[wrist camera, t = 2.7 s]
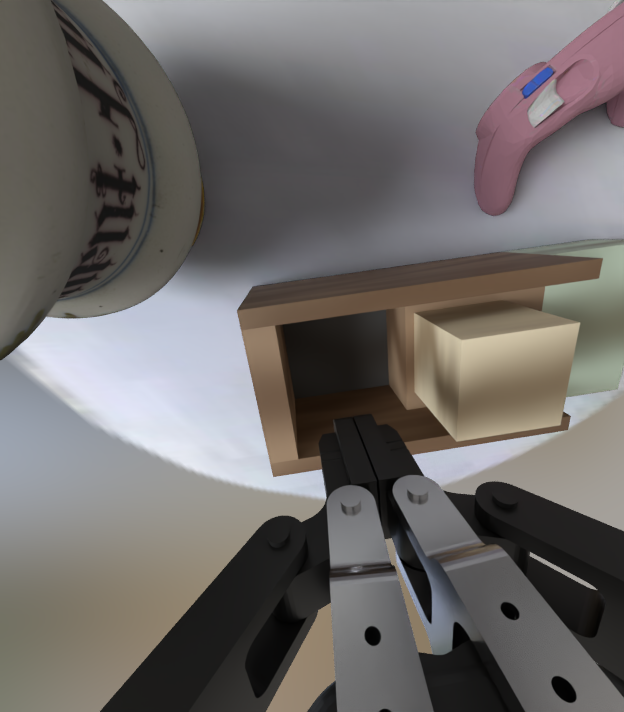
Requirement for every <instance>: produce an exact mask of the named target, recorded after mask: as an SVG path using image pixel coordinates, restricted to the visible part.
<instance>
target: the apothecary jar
mask: <svg viewBox="0 0 624 712" xmlns="http://www.w3.org/2000/svg"><path fill="white" fill-rule="evenodd" d="M204 210H205V204H204V188H203V182H202V177H201V173H200V165H199V158H198V153H197V149H196V144H195V140H194V137H193V133H192V130H191V127H190V124H189V121H188V118H187V116H186V113H185V111H184V109H183V106H182V104H181V102H180V100H179V98H178V96H177V94H176V92H175V90H174V88H173V86H172V84H171V82H170V81H169V79H168V77H167V75H166V74H165V72H164V71H163V69H162V67H161V66H160V64H159V63H158V61H157V60H156V58H155V57H154V56H153V54H152V53H151V52H150V50H149V49H148V48H147V46H146V45H145V44H144V43H143V41H142V40H141V39H140V38H139V37H138V36H137V34H136V33H135V32H134V31H133V30H132V29H131V28H130V27H129V25H128V24H127V23H126V22H125V21H124V20H123V19H122V18H121V17H120V16H119V15H118V14H117V13H116V12H115V11H114V10H112V9H111V8H110V7H109V6H108V5H107V4H106V3H105V2H103V1H102V0H0V360H2V359H3V358H5V357H6V356H7V355H9V354H10V353H11V352H12V351H13V350H14V349H15V348H17V347H18V346H19V345H20V344H21V343H22V342H23V341H24V340H26V339H27V338H28V337H29V336H30V335H31V334H32V333H33V332H34V330H35V329H36V328H37V327H38V326H39V325H40V323H41V322H42V321H43V320H44V319H45V317H55V318H88V317H97V316H103V315H107V314H111V313H115V312H118V311H122V310H125V309H127V308H130V307H132V306H135V305H137V304H139V303H141V302H143V301H145V300H146V299H148V298H150V297H151V296H152V295H154V294H155V293H156V292H158V291H159V290H160V289H161V288H162V287H163V286H165V285H166V284H167V283H168V281H169V280H170V279H171V278H172V277H173V276H174V275H175V273H176V272H177V271H178V269H179V268H180V266H181V265H182V263H183V262H184V260H185V258H186V257H187V255H188V253H189V250H190V248H191V247H192V246H193V244H194V243H195V241H196V239H197V236H198V234H199V231H200V229H201V226H202V221H203V217H204Z"/></svg>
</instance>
